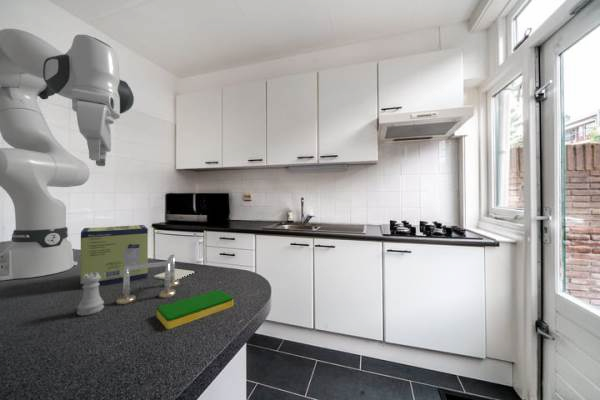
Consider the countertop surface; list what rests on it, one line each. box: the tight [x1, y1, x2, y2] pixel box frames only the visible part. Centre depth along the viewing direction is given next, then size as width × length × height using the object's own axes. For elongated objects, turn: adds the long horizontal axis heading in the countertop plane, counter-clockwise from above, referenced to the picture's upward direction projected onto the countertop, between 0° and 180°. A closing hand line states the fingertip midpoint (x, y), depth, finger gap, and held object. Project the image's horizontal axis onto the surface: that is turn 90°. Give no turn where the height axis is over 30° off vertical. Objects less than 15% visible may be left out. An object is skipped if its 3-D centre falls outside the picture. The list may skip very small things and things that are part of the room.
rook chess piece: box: [76, 272, 105, 317], centre depth 50 cm, size 4×4×8 cm
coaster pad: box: [153, 268, 195, 280], centre depth 74 cm, size 8×8×1 cm
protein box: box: [80, 224, 149, 290], centre depth 71 cm, size 10×16×16 cm
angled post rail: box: [116, 254, 180, 306], centre depth 60 cm, size 10×16×8 cm, turn 161°
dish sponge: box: [156, 289, 234, 330], centre depth 51 cm, size 7×14×2 cm, turn 136°
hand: (97, 163), depth 57 cm, fingers open, 8 cm apart
